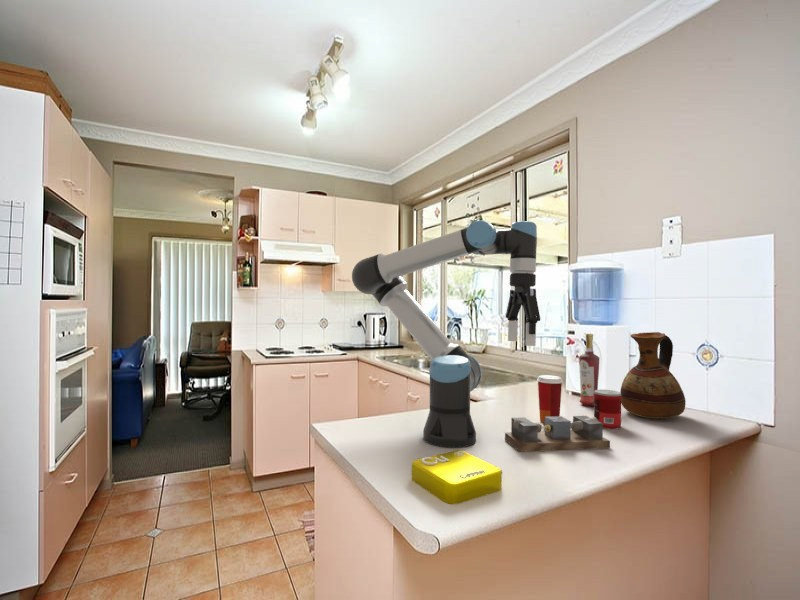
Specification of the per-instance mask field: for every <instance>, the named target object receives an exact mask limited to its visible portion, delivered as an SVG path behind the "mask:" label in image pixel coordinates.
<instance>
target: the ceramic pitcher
mask: <svg viewBox="0 0 800 600" xmlns="http://www.w3.org/2000/svg"><path fill="white" fill-rule="evenodd" d="M630 338H632V340H634V341H635V342H636V343H637V345H638V353H639V359H638V363H637V364H636V365H634V366H633V367H632V368H631V369H629V371H628V372H627V373H626V375H625V377H624V378H623V380H622V382H621V387H620V391H619V392H620V393H621V407H623V409H625V410H626V411H627V412H629V413H631V414H633V415H636V416H638V417H642V418H649V419H667V418H673V417H677V416H680V415H682V414H683V413H684V411H685V410H686V403H687V402H686V396H685V393H684V391H683V389H682V387H681V384H680V382H679V381H678V380H677V378H676V377H675V375H673V374H672V372H671V371H670V368H671V364H672V358H673V355H674V354H673V353H674V352H673V351H674V345H673V341H672V339H671V338H670V337H669V336H668V335H666V334H665V333H664V332H663V333H662V332H659V331H651V332H638V333H633V334H630ZM658 351H659V355H658Z"/></svg>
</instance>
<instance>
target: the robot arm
mask: <svg viewBox="0 0 800 600" xmlns="http://www.w3.org/2000/svg"><path fill="white" fill-rule="evenodd" d="M537 228H538V227H537V224H536V223H535V222H534V221H529V220H528V221H526V220H519V221H514V222H512V223H511V226H510V228H509V229H496V228H495V227H494V225H493V224H492V223H490V222H489V221H487V220H482V219H477V220H475V221H472V223H470V224H469V225H468V226H467V227H464V228H462V229H459V230H456V231H453V232H450V233H447V234H444V235H441V236H439V237H435V238H433V239H430V240H426V241H423V242H421V243H418V244H415V245H411V246H410V247H406V248H403V249H401V250H397V251H394V252H390V253H388V254H383V253H378V254H375V255H372V256H369V257H366V258H364V259H361V260H359V261H358V262H357V263H356V264H355V265H354V267H353V269H352V272H351V281H352V283H353V284H352V285H353V286H354V287H355V289H357V291H359V292H361V293H363V294H366V295H372V296H373V298H375V300H376V302H378V303H379V304H380V306H382V307H388V308H389V309H390V311H391V312H392V313H393V315H394V316H395V317H396V318H397V319H398V321H399V322H400V324H402V326H403V327H404V328H405V329H406V331H407V332H408V333H409V334H410V335H411V336H412V338H413V339H414V341H415V342H416V343H417V344H418V346H420V347H421V349H422V350H423V351H424V353H425V354H426V355H427V356H428V357H429V359H430V360H431V362H429V363H430V365H429V366H430V367H429V372H428V373H429V412H428V415H427V418H426V421H425V425H424V428H423V431H422V433H423V434H422V435H423V437H422V438H423V440H424V441H425V442H426V443H427V444H430V445H433V446H436V447H437V446H438V447H440V448H441V447H443V448H465V447H469V446H472V445H474V444H475V443H476V441H477V432H476V429H475V428H476V427H475V425H474V421H473V419H472V415H471V392H473V391H474V390H475V389H476V388H477V387H479V384H480V381H481V379H482V367H481V364H480V362H478V360H477V359H476V358H475V357H474V356H472V355H471V354H468V352H466V351H465V349H464V348H463V347H462V346H461V345H460V344H457V343H456V344H455V343H452V342H451V340H450V339H449V338H448V336H446V334H445V333H444V332H443V331H442V330H441V329H440V327H438V325H437V324H436V323H435V322H434V320H433V319H432V318H431V317H430V315H428V313H427V312H426V311H425V310H424V308H423V307H422V306H421V305H420V304H419V303H418V301H417V300H416V299H415V298H414V296H413V295H412V294H411V293H410V292H409V291H408V283H407V281H406V280H405V279H404V278H403V276H405V275H408V274H412V273H414V272H418V271H420V270H424V269H427V268H430V267H433V266H436V265H439V264H443V263H445V262H449V261H452V260H455V259H458V258H462V257H464V256H468V255H470V254H473V255H481V256H485V255H486V256H487V255H510V259H509V272H510V275H509V286H510V287H514V289H510V290H509V299H508V303H507V307H506V313H505V319H507V321H508V323H507V324H508V325H507V327H508V329H507V331H508V332H507V341H508V342H518V321H519V318H518V316H519V313H520V310H521V307H522V308H523V311H524V315H525V318H526V320H525V322H524V323H525V341H524V343H525V346H526V347H536V344H537V343H536V337H537V334H536V333H537V323H538V322H540V321H541V315H540V314H541V313H540V309H539V305H538V300H537V289H536V288H531V287H535V286H536V283H537V282H536V277H537V275H536V274H535V273H536V271H537V269H536V268H537V266H538V263H537V246H538V245H537V243H538V237H537V236H538V234H537Z"/></svg>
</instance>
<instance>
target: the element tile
mask: <svg viewBox="0 0 800 600" xmlns="http://www.w3.org/2000/svg"><path fill="white" fill-rule="evenodd" d="M502 473H503V471H502V469H501V468H500V467H497V466H496V465H493V464H492V463H489V462H488V461H485V460H483V459H481V458H479V457H476V456H474V455H472V454H470V453H468V452H467V451H464V450H460V449H457V450H451V451H449V452H447V451H446V452H443V453H440V454H435V455H430V456H426V457H421V458H417V459H414V460H412V461H411V481H412V482H413V483H415V484H417V486H420V487H421V488H422V489H423V490H425V491H427V492H428V493H430V494H431V495H433V496H434V497H436V498H437V499H439V500H440V501H441V502H443V503H446V504H448V505H458V504H462V503H466V502H468V501H471V500H475V499H479V498H482V497H484V496H487V495H490V494H495V493H497V492H500V491H501V490H503V489H502V484H503V481H502V480H503V479H502V478H503V477H502V476H503V474H502Z"/></svg>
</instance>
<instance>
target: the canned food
mask: <svg viewBox="0 0 800 600" xmlns="http://www.w3.org/2000/svg"><path fill="white" fill-rule="evenodd" d="M593 417H596V418H597V420H598V422H601V423H603V429H608V428H610V429H611V430H613V429H614V430H615V429H616V428H617V429H620V428H621V426H622V404H621V393H620V391H618V390H613V389H612V390H610V389H598V390H595V391H594V407H593ZM617 429H616V430H617Z"/></svg>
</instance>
